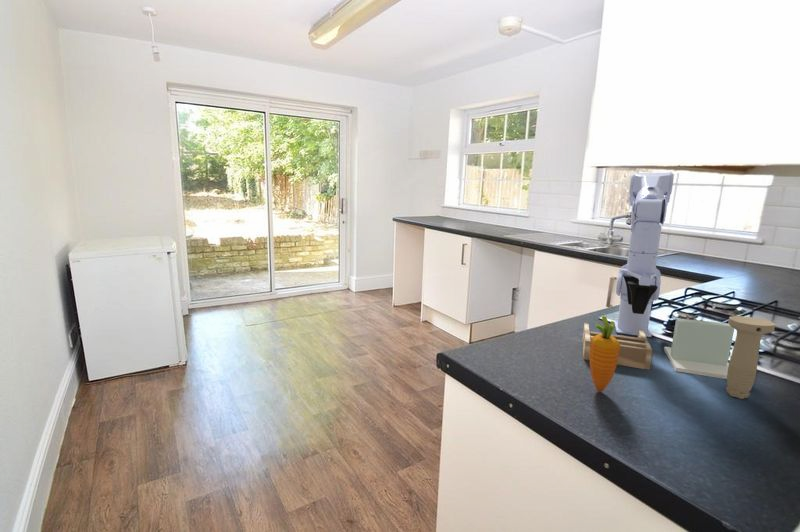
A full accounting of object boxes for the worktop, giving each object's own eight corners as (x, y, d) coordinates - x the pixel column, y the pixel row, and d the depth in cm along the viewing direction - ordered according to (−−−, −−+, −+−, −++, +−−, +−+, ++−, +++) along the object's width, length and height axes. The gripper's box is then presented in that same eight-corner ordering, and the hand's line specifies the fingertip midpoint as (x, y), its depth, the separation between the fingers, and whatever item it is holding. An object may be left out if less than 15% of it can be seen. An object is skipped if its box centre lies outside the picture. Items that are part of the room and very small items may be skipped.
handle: (765, 404, 72) (781, 327, 68) (723, 399, 73) (738, 323, 70) (749, 391, 76) (764, 318, 73) (711, 386, 78) (724, 315, 75)
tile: (663, 349, 95) (664, 346, 95) (719, 357, 91) (720, 354, 91) (675, 371, 84) (675, 367, 84) (739, 381, 80) (740, 377, 80)
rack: (582, 339, 101) (584, 319, 100) (640, 347, 96) (643, 326, 95) (583, 359, 90) (585, 336, 89) (649, 369, 85) (653, 346, 84)
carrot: (612, 401, 73) (622, 325, 70) (583, 394, 75) (591, 319, 72) (614, 389, 77) (624, 316, 74) (586, 382, 79) (594, 312, 76)
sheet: (670, 355, 90) (676, 318, 88) (723, 362, 87) (730, 323, 85) (672, 358, 88) (678, 321, 86) (727, 366, 85) (734, 326, 83)
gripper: (619, 246, 98) (613, 299, 101) (627, 255, 85) (619, 315, 88) (652, 248, 95) (645, 302, 98) (665, 257, 82) (656, 319, 85)
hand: (635, 308), depth 93 cm, fingers open, 7 cm apart
